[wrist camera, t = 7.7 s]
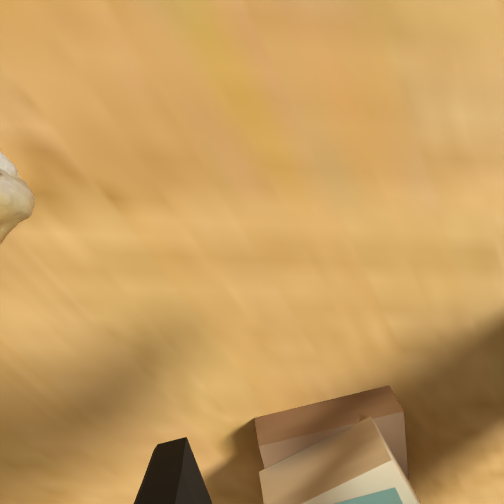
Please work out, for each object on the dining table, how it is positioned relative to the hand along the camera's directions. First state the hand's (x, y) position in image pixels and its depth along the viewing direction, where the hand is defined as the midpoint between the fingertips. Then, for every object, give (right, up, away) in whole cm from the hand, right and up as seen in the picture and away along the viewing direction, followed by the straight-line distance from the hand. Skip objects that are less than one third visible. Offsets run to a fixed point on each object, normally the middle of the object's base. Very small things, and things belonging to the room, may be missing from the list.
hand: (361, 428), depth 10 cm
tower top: (+2, -8, +13) cm, 16 cm away
